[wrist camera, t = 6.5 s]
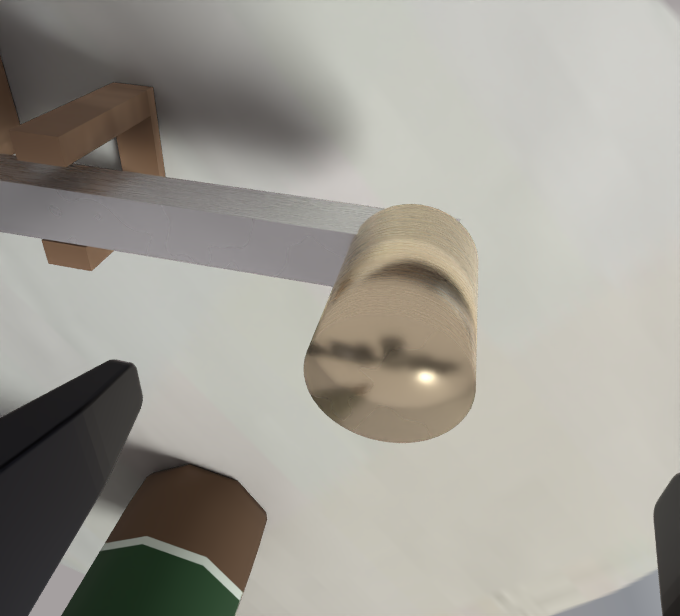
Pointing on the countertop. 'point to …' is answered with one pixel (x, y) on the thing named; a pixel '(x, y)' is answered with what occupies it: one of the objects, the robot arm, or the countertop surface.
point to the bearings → (93, 146)
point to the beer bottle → (176, 550)
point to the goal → (6, 114)
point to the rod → (297, 277)
